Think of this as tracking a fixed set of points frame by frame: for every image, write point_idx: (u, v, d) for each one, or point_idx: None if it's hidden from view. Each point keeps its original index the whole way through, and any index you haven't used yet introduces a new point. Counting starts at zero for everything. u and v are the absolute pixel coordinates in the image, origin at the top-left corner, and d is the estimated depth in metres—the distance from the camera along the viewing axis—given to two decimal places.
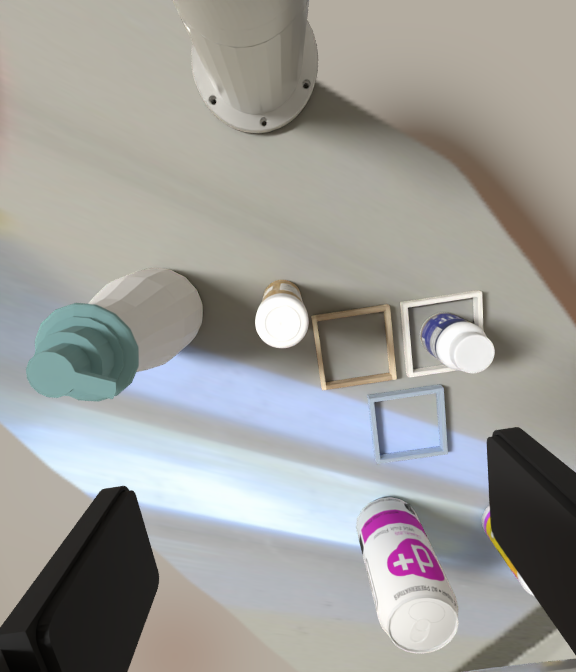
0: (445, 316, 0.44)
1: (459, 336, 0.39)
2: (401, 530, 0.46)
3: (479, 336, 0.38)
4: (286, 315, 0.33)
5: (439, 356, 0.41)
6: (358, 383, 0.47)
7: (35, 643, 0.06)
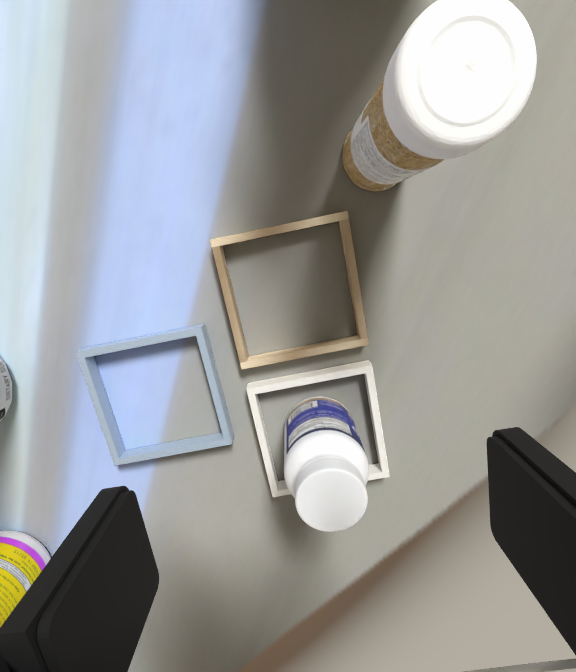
0: None
1: (357, 469, 0.22)
2: None
3: (365, 504, 0.21)
4: (487, 83, 0.12)
5: (308, 438, 0.23)
6: (228, 305, 0.26)
7: (35, 643, 0.06)
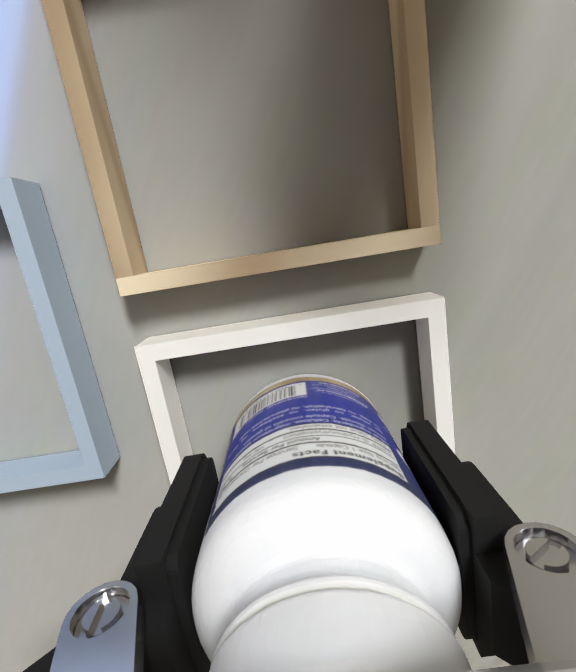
0: None
1: (450, 636, 0.06)
2: None
3: None
4: None
5: (270, 494, 0.07)
6: (79, 116, 0.10)
7: (166, 574, 0.07)
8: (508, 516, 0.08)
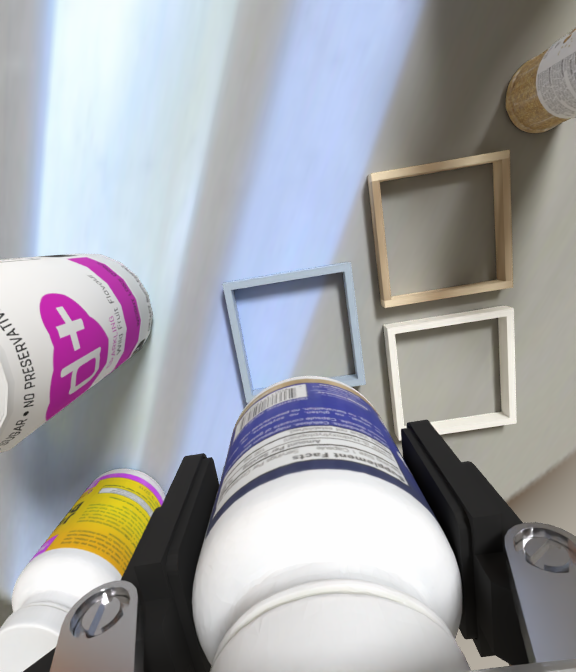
0: None
1: (450, 640, 0.06)
2: (117, 330, 0.22)
3: None
4: None
5: (270, 498, 0.07)
6: (380, 241, 0.27)
7: (166, 574, 0.07)
8: (508, 516, 0.08)
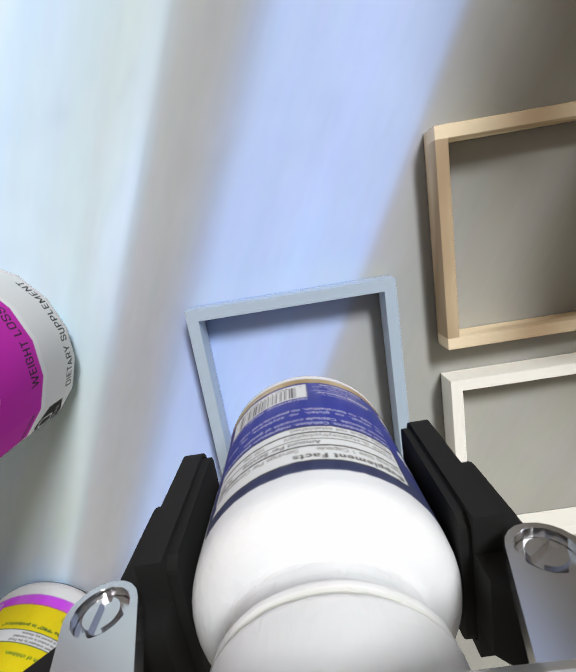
0: None
1: (451, 640, 0.06)
2: None
3: None
4: None
5: (271, 497, 0.07)
6: (446, 242, 0.16)
7: (166, 574, 0.07)
8: (508, 516, 0.08)
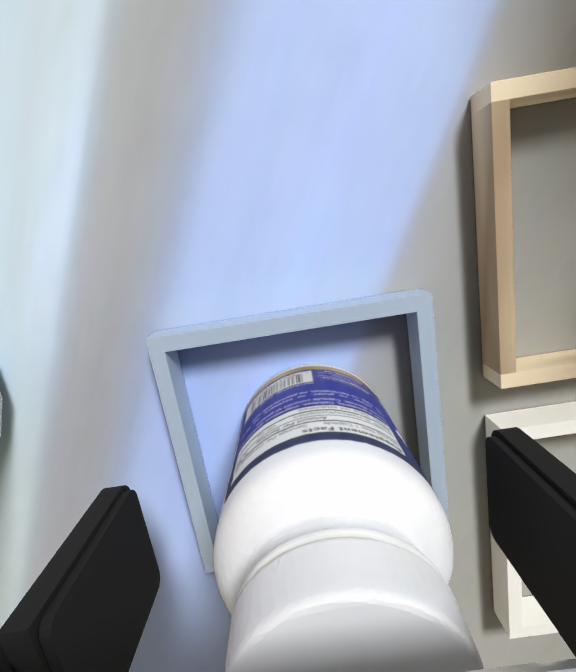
0: None
1: (440, 578, 0.07)
2: None
3: None
4: None
5: (284, 463, 0.08)
6: (502, 245, 0.12)
7: (37, 642, 0.06)
8: None
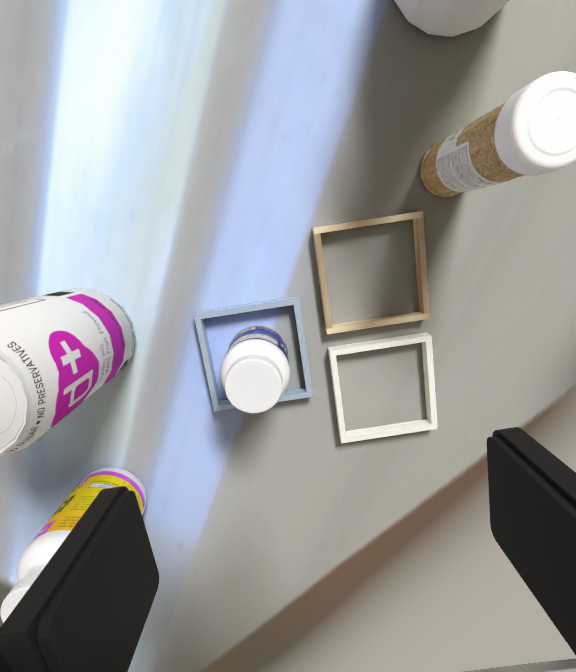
0: (287, 353, 0.33)
1: (276, 365, 0.28)
2: (105, 354, 0.28)
3: (280, 390, 0.27)
4: (570, 129, 0.19)
5: (240, 344, 0.29)
6: (322, 281, 0.33)
7: (35, 643, 0.06)
8: None
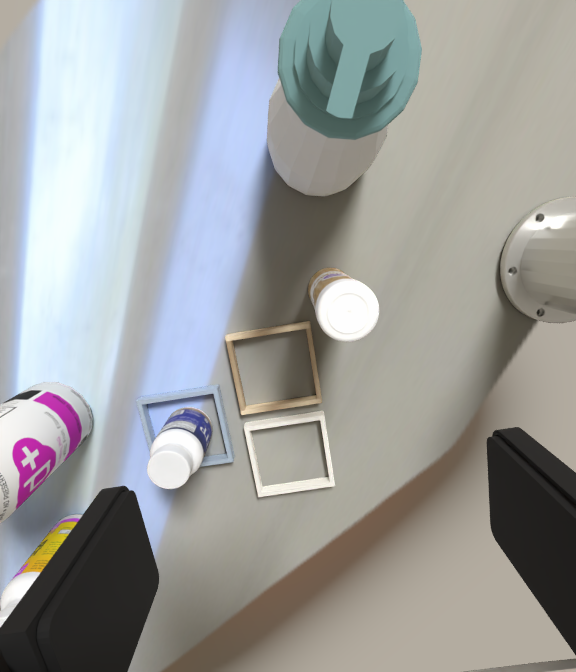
0: (208, 431, 0.42)
1: (186, 452, 0.37)
2: (62, 443, 0.38)
3: (188, 472, 0.36)
4: (357, 318, 0.28)
5: (163, 433, 0.38)
6: (234, 375, 0.42)
7: (35, 643, 0.06)
8: None
